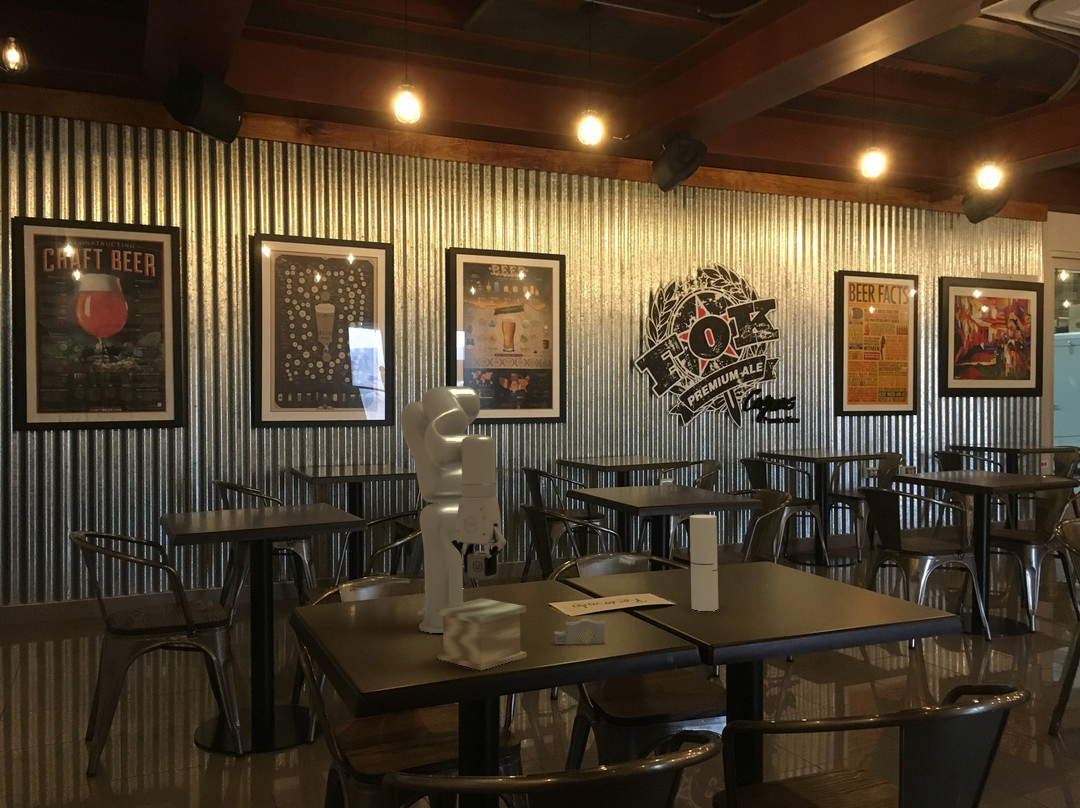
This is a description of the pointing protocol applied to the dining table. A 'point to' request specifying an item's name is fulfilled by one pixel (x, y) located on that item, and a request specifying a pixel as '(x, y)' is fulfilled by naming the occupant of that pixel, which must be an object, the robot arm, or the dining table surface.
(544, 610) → the dining table surface
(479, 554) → the gray face cube
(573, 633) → the garden wall model
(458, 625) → the display pedestal
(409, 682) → the dining table surface
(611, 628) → the dining table surface
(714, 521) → the cylindrical container
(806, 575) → the dining table surface
